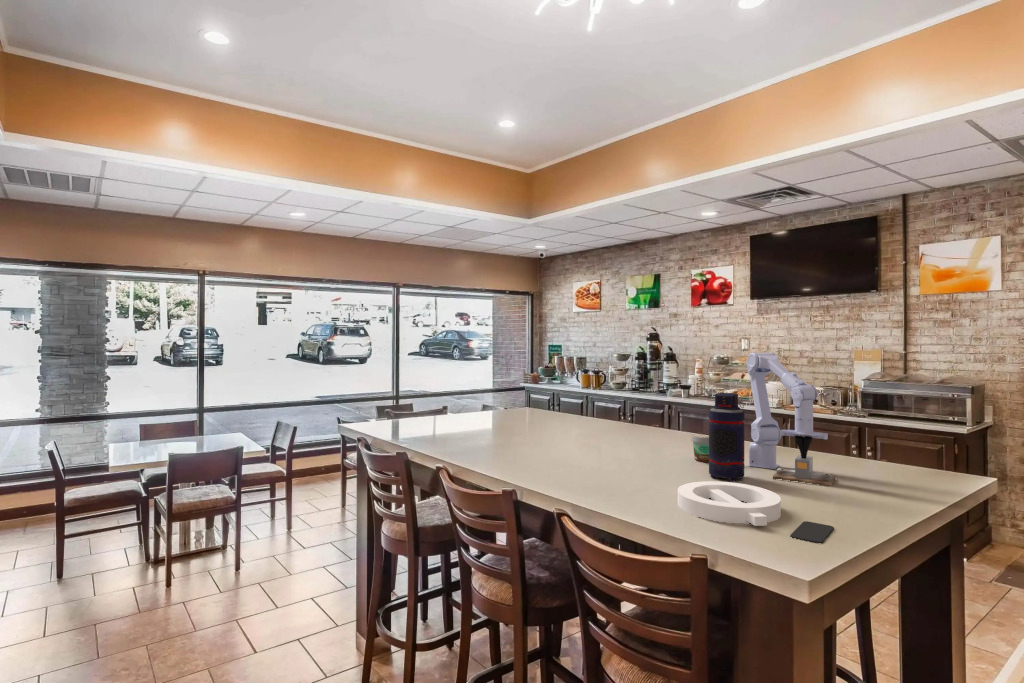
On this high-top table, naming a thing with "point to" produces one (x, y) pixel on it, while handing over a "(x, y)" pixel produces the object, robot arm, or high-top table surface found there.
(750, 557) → the high-top table surface
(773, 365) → the robot arm
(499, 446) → the high-top table surface
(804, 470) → the block
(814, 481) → the rail board
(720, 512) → the ring with crossbar
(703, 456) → the food container
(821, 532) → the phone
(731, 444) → the navy bottle
